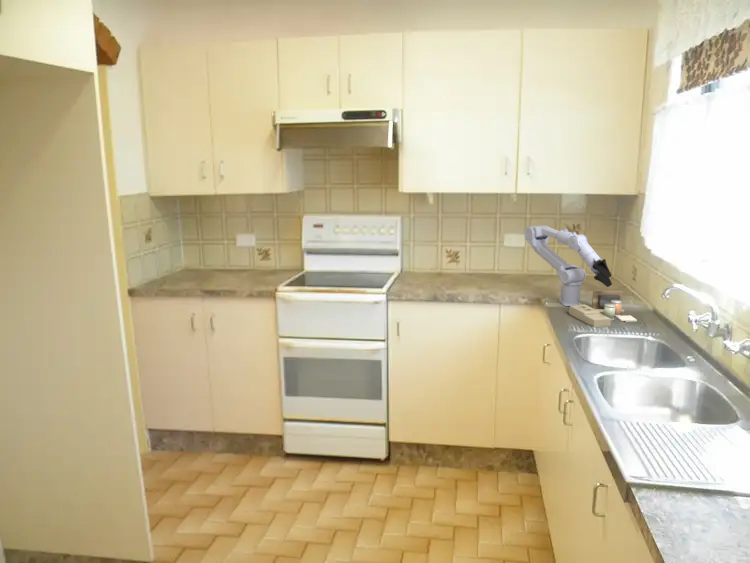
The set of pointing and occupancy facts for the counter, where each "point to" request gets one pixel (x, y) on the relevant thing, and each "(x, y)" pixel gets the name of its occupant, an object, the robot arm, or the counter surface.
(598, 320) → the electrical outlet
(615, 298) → the junction unit
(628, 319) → the pad
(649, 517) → the counter surface
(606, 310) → the cylinder
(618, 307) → the cylinder
